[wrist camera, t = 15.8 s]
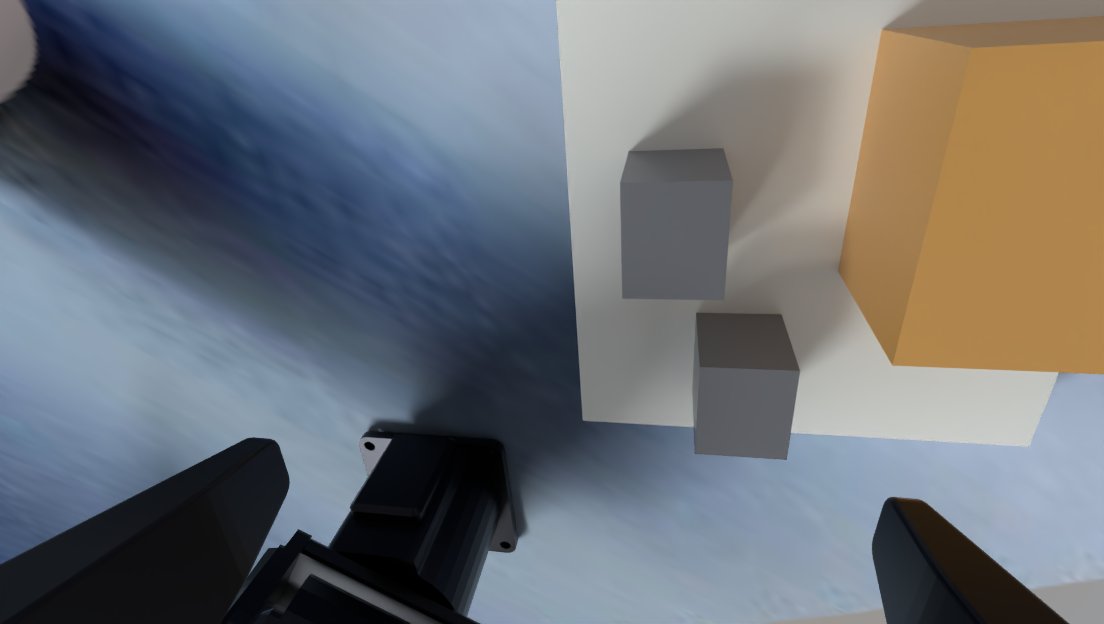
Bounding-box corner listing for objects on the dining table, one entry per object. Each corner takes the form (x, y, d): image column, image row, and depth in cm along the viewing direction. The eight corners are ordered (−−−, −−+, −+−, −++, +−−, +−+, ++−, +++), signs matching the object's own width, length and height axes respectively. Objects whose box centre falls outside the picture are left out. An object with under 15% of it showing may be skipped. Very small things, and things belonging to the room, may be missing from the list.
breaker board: (998, 406, 20) (1087, 522, 16) (589, 387, 23) (569, 481, 18) (1217, -203, 12) (1509, -304, 8) (562, -121, 15) (517, -164, 11)
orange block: (1068, 273, 15) (1212, 378, 11) (838, 271, 17) (892, 365, 12) (1170, 12, 13) (1415, 23, 8) (881, 29, 14) (971, 47, 9)
